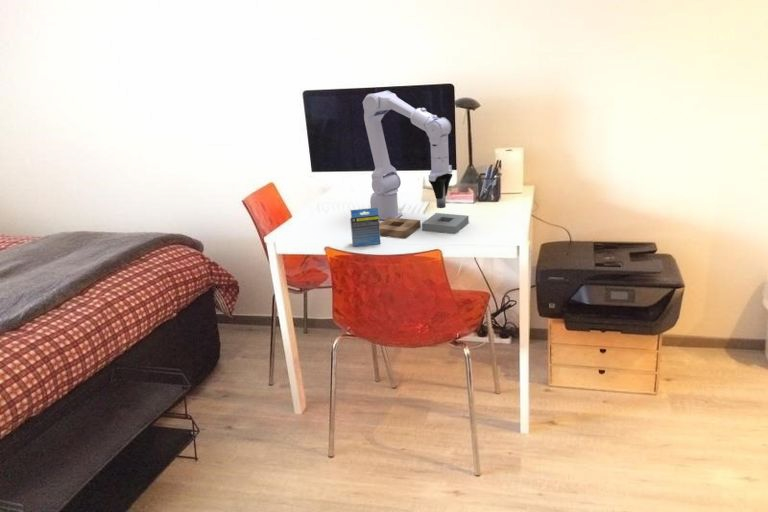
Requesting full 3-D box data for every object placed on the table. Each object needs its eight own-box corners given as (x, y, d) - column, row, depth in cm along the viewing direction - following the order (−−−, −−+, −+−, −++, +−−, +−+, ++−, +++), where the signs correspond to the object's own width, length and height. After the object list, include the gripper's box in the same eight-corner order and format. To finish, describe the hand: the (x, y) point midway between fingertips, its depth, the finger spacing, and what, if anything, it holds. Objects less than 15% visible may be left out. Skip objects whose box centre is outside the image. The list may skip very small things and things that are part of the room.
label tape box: (379, 240, 198) (376, 203, 194) (380, 244, 194) (378, 207, 190) (352, 243, 197) (348, 206, 193) (353, 247, 193) (350, 210, 189)
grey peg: (435, 208, 203) (434, 181, 200) (438, 205, 206) (436, 179, 202) (444, 208, 202) (443, 181, 199) (446, 205, 204) (445, 179, 201)
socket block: (373, 234, 203) (372, 227, 202) (389, 223, 213) (389, 217, 212) (405, 238, 198) (404, 231, 197) (420, 227, 208) (420, 220, 207)
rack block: (422, 230, 204) (421, 223, 203) (436, 219, 214) (436, 212, 213) (455, 233, 199) (455, 226, 198) (468, 222, 208) (468, 215, 208)
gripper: (442, 162, 190) (443, 204, 195) (459, 152, 202) (460, 192, 206) (421, 161, 193) (423, 202, 198) (439, 151, 205) (441, 190, 210)
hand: (441, 197), depth 202 cm, fingers closed on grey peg, 3 cm apart
